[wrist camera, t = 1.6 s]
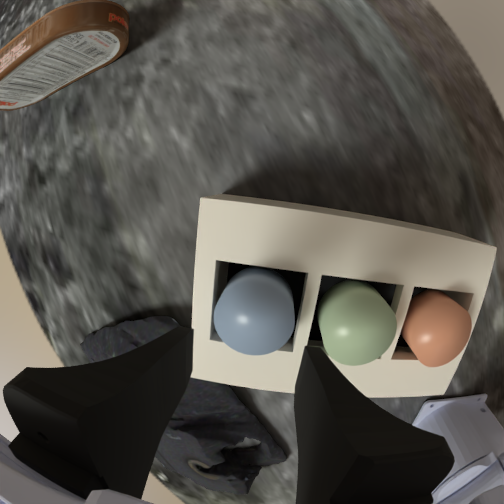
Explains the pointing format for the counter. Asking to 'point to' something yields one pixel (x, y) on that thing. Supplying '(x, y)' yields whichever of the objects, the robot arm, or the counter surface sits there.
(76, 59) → the tin
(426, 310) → the terracotta button
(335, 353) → the sage green button
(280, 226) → the button console
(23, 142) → the counter surface
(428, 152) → the counter surface
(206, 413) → the black fabric pouch
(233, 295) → the slate blue button
